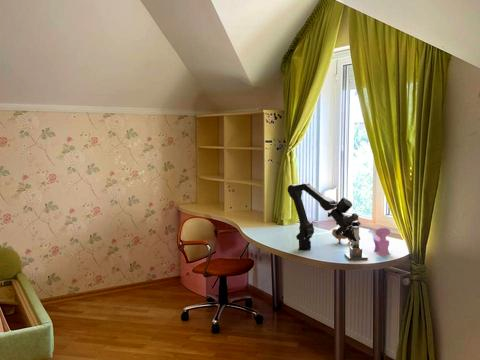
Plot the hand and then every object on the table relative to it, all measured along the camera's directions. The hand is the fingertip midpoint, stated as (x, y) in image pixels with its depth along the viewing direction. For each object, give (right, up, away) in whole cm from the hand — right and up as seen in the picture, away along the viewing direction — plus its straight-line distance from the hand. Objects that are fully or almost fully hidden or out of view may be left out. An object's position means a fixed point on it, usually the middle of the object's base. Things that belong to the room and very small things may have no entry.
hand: (357, 240), depth 250 cm
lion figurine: (0, -7, +35) cm, 36 cm away
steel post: (-1, -5, +1) cm, 5 cm away
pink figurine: (+16, -9, +11) cm, 21 cm away
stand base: (-1, -10, +2) cm, 10 cm away
